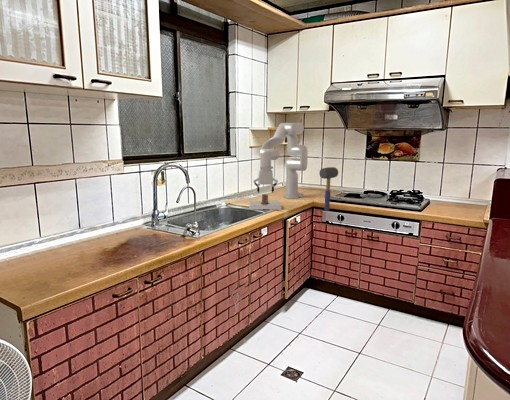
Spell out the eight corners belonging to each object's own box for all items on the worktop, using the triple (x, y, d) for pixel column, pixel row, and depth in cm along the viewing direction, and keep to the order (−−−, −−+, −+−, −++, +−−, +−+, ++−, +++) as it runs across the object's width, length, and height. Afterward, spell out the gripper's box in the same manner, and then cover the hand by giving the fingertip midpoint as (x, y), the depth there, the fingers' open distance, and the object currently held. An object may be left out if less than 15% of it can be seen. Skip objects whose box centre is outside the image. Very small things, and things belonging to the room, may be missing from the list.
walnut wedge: (267, 206, 257) (267, 194, 256) (267, 207, 253) (268, 195, 252) (261, 206, 257) (262, 194, 255) (262, 207, 253) (262, 195, 252)
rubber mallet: (324, 213, 240) (327, 168, 234) (316, 211, 246) (318, 167, 240) (336, 210, 248) (339, 167, 242) (328, 208, 254) (330, 166, 248)
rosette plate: (279, 205, 263) (279, 201, 262) (281, 209, 249) (281, 205, 248) (249, 205, 262) (249, 200, 261) (249, 209, 248) (249, 205, 247)
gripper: (277, 167, 254) (277, 191, 258) (253, 167, 253) (253, 191, 257) (278, 169, 246) (278, 193, 250) (253, 169, 246) (253, 193, 250)
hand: (265, 192), depth 254 cm, fingers open, 9 cm apart
